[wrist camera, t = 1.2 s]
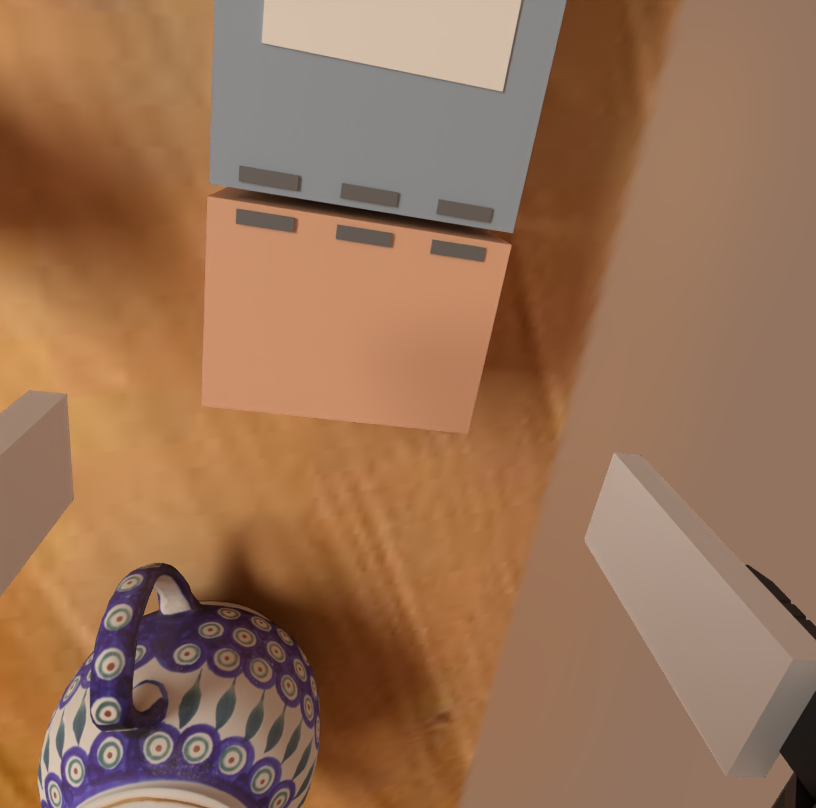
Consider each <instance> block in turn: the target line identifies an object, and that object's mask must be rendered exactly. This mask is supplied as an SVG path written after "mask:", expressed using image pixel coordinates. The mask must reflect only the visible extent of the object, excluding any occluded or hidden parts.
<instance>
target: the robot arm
mask: <svg viewBox="0 0 816 808" xmlns="http://www.w3.org/2000/svg"><path fill="white" fill-rule="evenodd" d="M73 499H74V495H73V480H72V465H71V450H70V435H69V420H68V405H67V394H60V393H51V392H41V391H32V390H29V391H28V392H27V393H25V394H24V395H23V396H22V397H20V398H19V399H18V400H17V401H15V402H14V403H13V404H12V405H10V406H9V407H8V408H7V409H5V410H4V411H3V412H2V413H0V596H1V595H2V594H3V592H4V591H5V590H6V588H7V587H8V586H9V584H10V583H11V582H12V580H13V579H14V578H15V576H16V575H17V574H18V572H19V571H20V570H21V568H22V567H23V566H24V564H25V563H26V562H27V560H28V559H29V558H30V556H31V555H32V554H33V552H34V551H35V550H36V548H37V547H38V546H39V544H40V543H41V542H42V540H43V539H44V538H45V536H46V535H47V534H48V532H49V531H50V530H51V528H52V527H53V526H54V524H55V523H56V522H57V520H58V519H59V518H60V516H61V515H62V514H63V513H64V511H65V510H66V509H67V507H68V506H69V505H70V503H71V502H72V501H73ZM584 541H585V542H586V544H587V546H588V547H589V549H590V551H591V552H592V554H593V556H594V557H595V559H596V561H597V562H598V564H599V566H600V567H601V569H602V571H603V572H604V574H605V576H606V577H607V579H608V581H609V582H610V584H611V586H612V587H613V589H614V591H615V592H616V594H617V596H618V597H619V599H620V601H621V603H622V604H623V606H624V607H625V609H626V611H627V613H628V614H629V616H630V617H631V619H632V621H633V622H634V624H635V626H636V627H637V629H638V631H639V633H640V634H641V636H642V638H643V639H644V641H645V643H646V644H647V646H648V647H649V649H650V651H651V653H652V654H653V656H654V658H655V659H656V661H657V662H658V664H659V666H660V668H661V669H662V671H663V673H664V674H665V675H666V678H667V679H668V681H669V683H670V684H671V686H672V688H673V689H674V691H675V693H676V694H677V696H678V698H679V699H680V701H681V703H682V704H683V706H684V708H685V709H686V711H687V713H688V714H689V716H690V718H691V719H692V721H693V723H694V724H695V726H696V727H697V729H698V731H699V733H700V734H701V736H702V737H703V739H704V741H705V743H706V744H707V746H708V748H709V749H710V751H711V753H712V754H713V756H714V758H715V759H716V761H717V763H718V764H719V766H720V768H721V769H722V771H723V773H724V774H725V776H726V777H766V775H767V774H768V772H769V770H770V769H771V767H772V765H773V764H774V762H775V760H776V759H777V757H778V756H779V754H780V753H781V754H782V756H783V757H784V759H785V760H786V761H787V762H788V764H789V766H790V767H791V768H792V770H793V771H794V773H793V774H792V776H791V778H790V779H789V781H788V782H787V784H786V785H785V787H784V789H783V790H782V792H781V793H780V795H779V797H778V798H777V800H776V801H775V803H774V804H773V806H772V808H816V626H815V625H814V624H813V623H812V622H811V621H810V620H806V616H805V615H804V614H803V613H802V612H801V611H800V610H799V609H798V608H797V607H796V606H795V605H794V604H791V601H790V599H789V598H788V597H786V595H785V594H784V593H783V592H782V591H781V590H780V589H779V588H778V587H777V586H776V585H775V584H774V583H773V582H772V581H771V580H769V579H768V578H766V577H765V576H763V575H762V574H761V573H759V572H758V571H756V570H755V569H753V568H752V567H750V566H749V565H744V564H743V562H742V561H741V560H740V559H739V558H738V557H737V556H736V555H735V554H734V553H733V552H732V551H731V550H730V549H729V548H728V547H727V546H726V545H725V543H724V542H723V541H722V540H721V539H720V538H719V537H718V536H717V535H716V534H715V533H714V532H713V531H712V530H711V529H710V528H709V526H708V525H707V524H706V523H705V522H704V521H703V520H702V519H701V518H700V517H699V516H698V515H697V514H696V513H695V512H694V510H693V509H692V508H691V507H690V506H689V505H688V504H687V503H686V502H685V501H684V500H683V499H682V498H681V497H680V496H679V495H678V494H677V492H676V491H675V490H674V489H673V488H672V487H671V486H670V485H669V484H668V483H667V482H666V481H665V480H664V479H663V478H662V477H661V475H660V474H659V473H658V472H657V471H656V470H655V469H654V468H653V467H652V466H651V465H650V464H649V463H648V462H647V461H646V460H645V458H644V457H643V456H642V455H634V454H624V453H614V455H613V457H612V460H611V463H610V466H609V469H608V472H607V475H606V478H605V481H604V483H603V486H602V490H601V492H600V495H599V498H598V501H597V504H596V507H595V510H594V513H593V515H592V518H591V521H590V524H589V527H588V530H587V533H586V536H585V539H584Z"/></svg>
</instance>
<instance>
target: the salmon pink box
mask: <svg viewBox="0 0 816 808" xmlns="http://www.w3.org/2000/svg"><path fill="white" fill-rule="evenodd" d="M511 246H512V245H511V244H509V243H508V242H506V241H505V240H503V239H502V238H500V237H499V236H497V235H496V234H494V233H493V232H491V231H490V230H488V229H483V228H477V227H471V226H465V225H459V224H453V223H447V222H441V221H434V220H428V219H422V218H416V217H410V216H404V215H398V214H392V213H385V212H379V211H373V210H367V209H361V208H355V207H349V206H343V205H337V204H330V203H324V202H318V201H312V200H306V199H300V198H294V197H288V196H281V195H275V194H269V193H263V192H257V191H251V190H245V189H239V188H232V187H227V188H225V189H223V190H220V191H218V192H216V193H214V194H211V195H209V196H207V229H206V264H205V298H204V332H203V366H202V401H201V406H208V407H217V408H227V409H236V410H246V411H255V412H264V413H274V414H283V415H293V416H302V417H312V418H321V419H331V420H340V421H350V422H359V423H369V424H378V425H388V426H397V427H407V428H416V429H426V430H435V431H444V432H454V433H463V434H468V432H469V427H470V423H471V419H472V414H473V410H474V406H475V401H476V397H477V393H478V388H479V384H480V380H481V376H482V371H483V367H484V363H485V358H486V354H487V350H488V345H489V341H490V337H491V332H492V328H493V324H494V319H495V315H496V311H497V307H498V302H499V298H500V294H501V289H502V285H503V281H504V276H505V272H506V268H507V263H508V259H509V255H510V251H511Z"/></svg>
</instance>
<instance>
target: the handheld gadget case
mask: <svg viewBox="0 0 816 808" xmlns="http://www.w3.org/2000/svg"><path fill="white" fill-rule="evenodd" d="M566 1H567V0H215V1H214V34H213V68H212V101H211V134H210V168H209V184H214V185H220V186H226V187H232V188H239V189H245V190H251V191H257V192H263V193H269V194H275V195H281V196H288V197H294V198H300V199H306V200H312V201H318V202H324V203H330V204H337V205H343V206H349V207H355V208H361V209H367V210H373V211H379V212H385V213H392V214H398V215H404V216H410V217H416V218H422V219H428V220H434V221H441V222H447V223H453V224H459V225H465V226H471V227H477V228H483V229H489V230H496V231H502V232H508V233H513V231H514V226H515V222H516V218H517V213H518V209H519V205H520V200H521V196H522V192H523V187H524V183H525V179H526V174H527V170H528V166H529V161H530V157H531V153H532V148H533V144H534V140H535V135H536V131H537V127H538V122H539V118H540V114H541V109H542V105H543V101H544V96H545V92H546V88H547V83H548V79H549V75H550V70H551V66H552V62H553V57H554V53H555V49H556V44H557V40H558V36H559V32H560V27H561V23H562V19H563V14H564V10H565V6H566Z"/></svg>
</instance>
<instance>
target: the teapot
mask: <svg viewBox="0 0 816 808" xmlns="http://www.w3.org/2000/svg"><path fill="white" fill-rule="evenodd" d="M153 587H154V588H155V590H156V591H157V595H158V600H159V610H158V611H155V612H153V613H150V614H147V615H145V616H143V614H144V611H145V608H146V605H147V602H148V599H149V596H150V594H151V592H152V589H153ZM319 742H320V702H319V695H318V690H317V685H316V680H315V676H314V673H313V671H312V669H311V666H310V664H309V662H308V660H307V658H306V656H305V654H304V652H303V651H302V649H301V648H300V647H299V645H298V644H297V643H296V641H295V640H294V639H293V638H291V637H290V636H289V635H288V634H287V633H286V632H285V631H284V630H282V629H281V628H280V627H278V626H277V625H275V624H274V623H273V622H271V621H270V620H269V619H268V618H266V617H265V616H263V615H262V614H260V613H259V612H257V611H255V610H253V609H250V608H248V607H245V606H242V605H239V604H235V603H229V602H222V601H198V600H197V599H196V598H195V596H194V595H193V594H192V592H191V589H190V586H189V584H188V583H187V581H186V580H185V579H184V577H183V576H182V575H181V574H180V573H179V571H178V570H177V569H176V568H174V567H173V566H171V565H168V564H164V563H154V564H149V565H146V566H143V567H140V568H138V569H136V570H134V571H132V572H131V573H129V574H128V575H127V576H126V577H125V578H124V579H123V580H122V581H121V582H120V584H119V585H118V587H117V589H116V590H115V592H114V594H113V596H112V597H111V599H110V601H109V603H108V606H107V609H106V612H105V615H104V616H103V618H102V621H101V625H100V628H99V631H98V635H97V638H96V642H95V648H94V651H93V653H92V654H91V655H90V656H89V657H88V658H87V660H86V661H85V662H84V663H83V665H82V666H81V667H80V669H79V670H78V671H77V673H76V674H75V676H74V677H73V678H72V680H71V682H70V683H69V685H68V687H67V688H66V690H65V692H64V694H63V696H62V698H61V700H60V701H59V703H58V705H57V708H56V710H55V712H54V714H53V716H52V718H51V721H50V724H49V726H48V729H47V732H46V736H45V740H44V744H43V748H42V752H41V756H40V760H39V769H38V791H39V796H40V802H41V806H42V808H301V807H302V805H303V803H304V801H305V798H306V796H307V794H308V791H309V789H310V785H311V782H312V778H313V775H314V771H315V766H316V762H317V757H318V751H319Z"/></svg>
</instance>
